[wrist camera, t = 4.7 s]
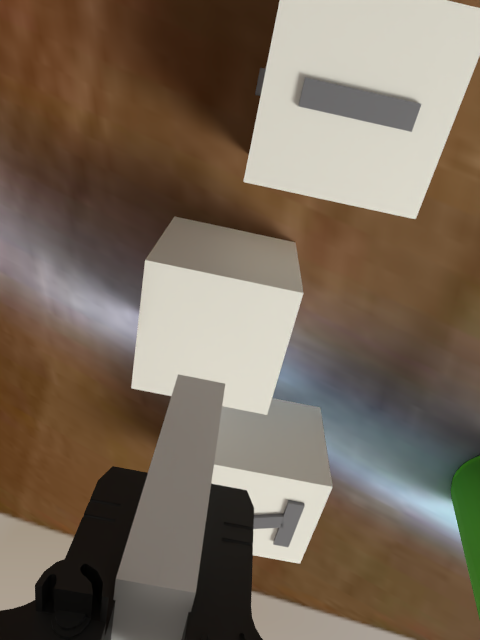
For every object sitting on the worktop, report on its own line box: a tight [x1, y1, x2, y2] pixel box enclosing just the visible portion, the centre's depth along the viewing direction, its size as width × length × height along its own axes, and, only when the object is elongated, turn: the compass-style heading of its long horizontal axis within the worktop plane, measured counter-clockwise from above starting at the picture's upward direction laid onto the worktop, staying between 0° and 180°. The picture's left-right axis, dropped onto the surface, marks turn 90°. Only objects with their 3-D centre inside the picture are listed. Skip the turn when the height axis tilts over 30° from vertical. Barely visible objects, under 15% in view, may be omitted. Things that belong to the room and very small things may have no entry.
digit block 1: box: [244, 0, 480, 219], centre depth 17 cm, size 6×6×6 cm
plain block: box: [131, 216, 303, 415], centre depth 21 cm, size 6×6×6 cm
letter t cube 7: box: [211, 398, 332, 564], centre depth 26 cm, size 6×6×6 cm
